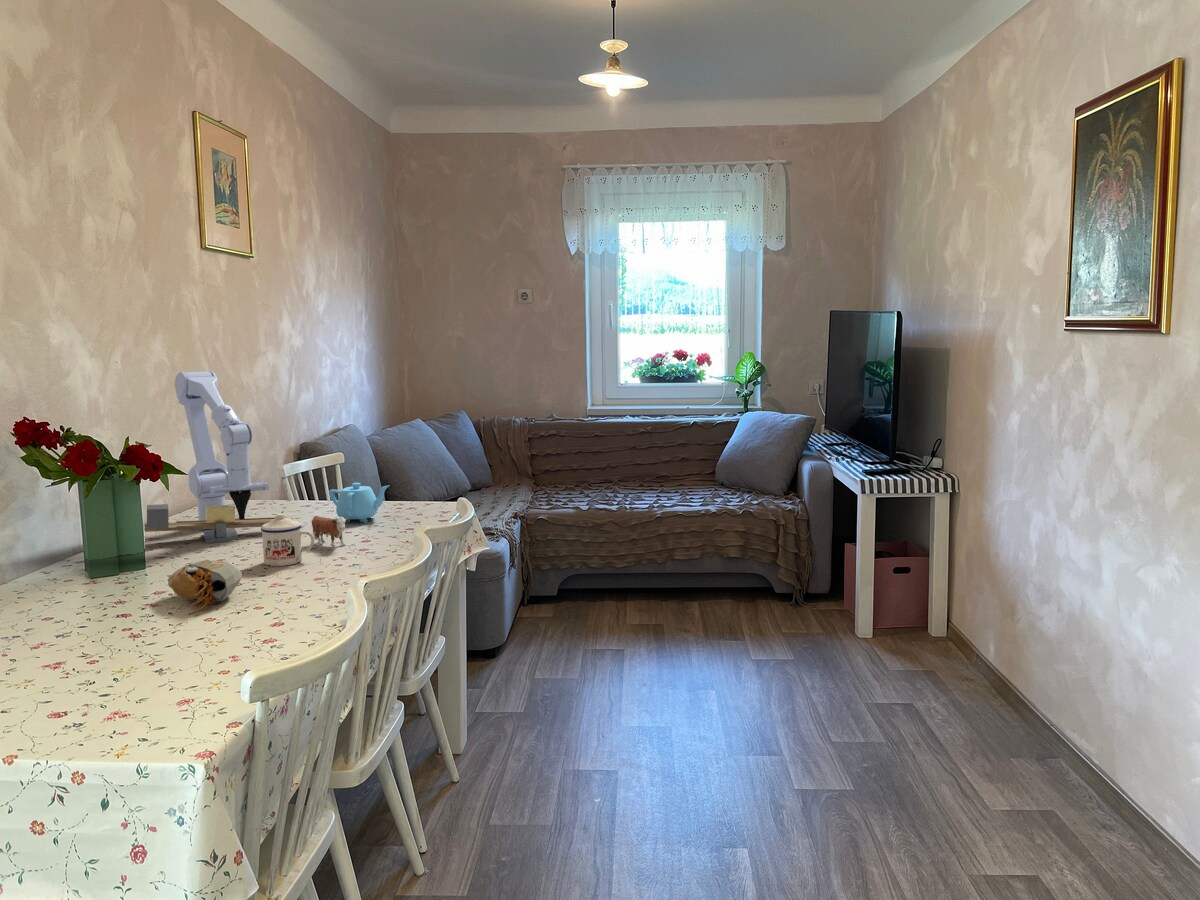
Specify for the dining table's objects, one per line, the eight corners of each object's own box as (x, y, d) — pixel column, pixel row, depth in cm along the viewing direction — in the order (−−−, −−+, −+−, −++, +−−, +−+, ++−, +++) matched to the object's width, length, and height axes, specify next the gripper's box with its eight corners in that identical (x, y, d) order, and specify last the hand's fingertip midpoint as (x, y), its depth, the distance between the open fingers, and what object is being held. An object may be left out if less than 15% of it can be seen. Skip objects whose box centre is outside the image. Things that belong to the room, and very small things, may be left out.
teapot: (329, 521, 264) (325, 483, 262) (374, 512, 273) (371, 476, 271) (346, 528, 254) (343, 490, 252) (393, 519, 263) (390, 481, 261)
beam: (144, 526, 238) (144, 504, 237) (288, 520, 254) (288, 500, 253) (144, 532, 231) (144, 509, 230) (292, 525, 247) (292, 504, 246)
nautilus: (228, 619, 175) (146, 627, 173) (252, 582, 196) (180, 589, 194) (222, 580, 174) (140, 588, 172) (248, 547, 195) (175, 554, 193)
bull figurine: (341, 550, 226) (339, 519, 225) (309, 543, 234) (307, 512, 233) (355, 547, 230) (353, 516, 229) (323, 540, 238) (321, 510, 237)
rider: (205, 522, 242) (205, 505, 242) (233, 521, 246) (233, 504, 245) (206, 525, 239) (206, 508, 238) (235, 523, 242) (235, 507, 241)
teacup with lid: (259, 568, 211) (256, 519, 209) (266, 558, 220) (263, 511, 218) (313, 565, 213) (310, 516, 211) (317, 555, 222) (315, 509, 220)
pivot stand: (203, 534, 246) (202, 518, 246) (234, 531, 250) (233, 515, 249) (205, 543, 235) (204, 526, 235) (238, 540, 239) (237, 523, 238)
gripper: (210, 473, 236) (213, 524, 238) (268, 468, 242) (271, 518, 244) (208, 469, 242) (212, 519, 244) (265, 465, 248) (268, 513, 250)
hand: (241, 518), depth 244 cm, fingers closed
